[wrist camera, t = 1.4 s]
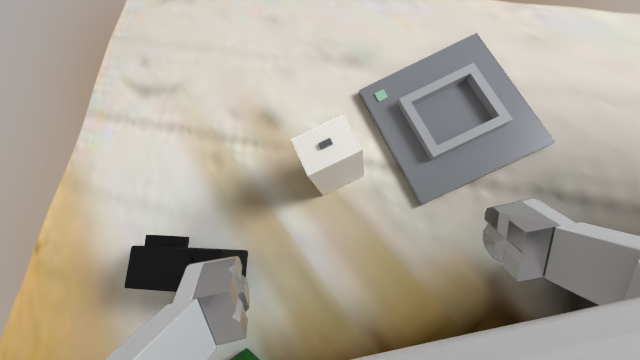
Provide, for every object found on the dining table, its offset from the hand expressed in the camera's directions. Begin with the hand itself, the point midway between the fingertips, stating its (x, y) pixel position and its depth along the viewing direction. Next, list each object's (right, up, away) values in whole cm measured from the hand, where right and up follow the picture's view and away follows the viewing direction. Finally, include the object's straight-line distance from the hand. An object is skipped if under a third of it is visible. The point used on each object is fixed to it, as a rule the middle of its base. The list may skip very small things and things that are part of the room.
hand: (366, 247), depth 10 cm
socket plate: (+14, +10, +28) cm, 33 cm away
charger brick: (+1, +3, +28) cm, 29 cm away
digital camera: (-15, -8, +28) cm, 33 cm away
